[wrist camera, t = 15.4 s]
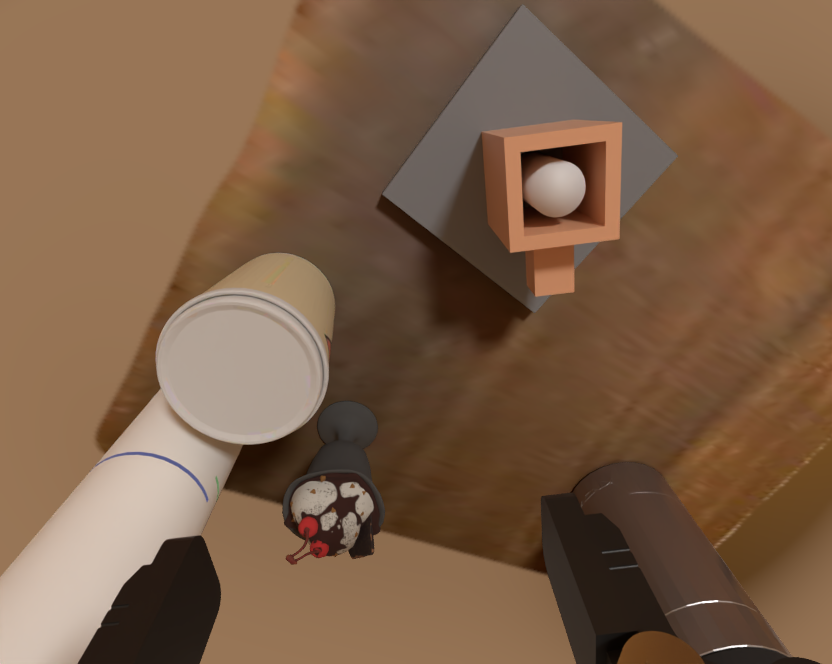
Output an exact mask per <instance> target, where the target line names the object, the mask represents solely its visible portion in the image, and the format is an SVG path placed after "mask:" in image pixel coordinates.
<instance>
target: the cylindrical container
mask: <svg viewBox="0 0 832 664" xmlns="http://www.w3.org/2000/svg"><path fill="white" fill-rule="evenodd" d="M242 446H243V444H234V443H228V442H224V441H220V440H217V439H214V438H212V437H209V436H207V435H205V434H203V433H201V432H199V431H198V430H196V429H194V428H193V427H192V426H190V425H189V424H188V423H186V422H185V421H184V420H183V419H182V418H181V417H180V416H179V415H178V414H177V413H176V412H175V411H174V410H173V408H172V407H171V406H170V405H169V403H168V401H167V400H166V398H165V396H164V394H163V392H162V390H161V389H160V390H159V392H158V393H157V394H156V395H155V396H154V397H153V399H152V400H151V401H150V402H149V403H148V405H147V406H146V407H145V408H144V409H143V410H142V412H141V413H140V414H139V415H138V416H137V417H136V419H135V420H134V421H133V422H132V423H131V424H130V426H129V427H128V428H127V429H126V430H125V431H124V433H123V434H122V435H121V436H120V437H119V438H118V440H117V441H116V442H115V443H114V444H113V445H112V447H111V448H110V449H109V450H108V451H107V452H106V454H105V455H104V456H103V457H102V458H101V460H100V461H99V462H98V463H97V464H96V465H95V467H94V468H93V469H92V470H91V471H90V473H89V474H88V475H87V476H86V477H85V478H84V479H83V481H82V482H81V483H80V484H79V485H78V486H77V488H76V489H75V490H74V491H73V492H72V494H71V495H70V496H69V497H68V498H67V499H66V501H65V502H64V503H63V504H62V505H61V506H60V508H59V509H58V510H57V511H56V512H55V514H54V515H53V516H52V517H51V518H50V519H49V521H48V522H47V523H46V524H45V525H44V526H43V528H42V529H41V530H40V531H39V532H38V534H37V535H36V536H35V537H34V538H33V539H32V540H31V542H30V543H29V544H28V545H27V546H26V548H25V549H24V550H23V551H22V552H21V554H20V555H19V556H18V557H17V558H16V559H15V561H14V562H13V563H12V564H11V565H10V566H9V568H8V569H7V570H6V571H5V572H4V573H3V575H2V576H1V577H0V664H78V662H79V660H80V658H81V657H82V655H83V653H84V652H85V650H86V648H87V646H88V645H89V643H90V641H91V640H92V638H93V636H94V634H95V633H96V631H97V629H98V628H100V627H101V622H102V621H103V619H104V617H105V615H106V614H107V612H108V610H111V605H112V603H113V602H114V600H115V598H116V596H117V595H118V593H119V591H120V590H121V588H122V586H123V585H124V584H125V583H126V582H127V581H128V580H129V579H130V578H131V577H132V576H133V575H134V574H135V573H136V572H137V571H138V570H139V569H140V568H141V567H142V566H143V565H149V564H152V562H153V560H154V558H155V556H156V554H157V553H158V551H159V549H160V547H161V545H162V544H163V542H164V541H165V540H167V539H172V538H180V537H189V536H197V535H200V536H201V534H202V532H203V530H204V528H205V525H206V523H207V521H208V519H209V517H210V515H211V512H212V510H213V508H214V506H215V504H216V502H217V500H218V498H219V495H220V493H221V491H222V489H223V487H224V485H225V483H226V480H227V478H228V476H229V474H230V472H231V470H232V468H233V465H234V463H235V461H236V459H237V457H238V455H239V453H240V450H241V448H242Z"/></svg>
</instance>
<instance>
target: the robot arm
mask: <svg viewBox="0 0 832 664" xmlns="http://www.w3.org/2000/svg"><path fill="white" fill-rule="evenodd" d="M541 517H542V542H543V554H544V560H545V565H546V569H547V573H548V576H549V579H550V582H551V585H552V589H553V592H554V595H555V598H556V601H557V604H558V608H559V611H560V613H561V617H562V620H563V623H564V626H565V629H566V633H567V636H568V639H569V642H570V645H571V648H572V651H573V654H574V657H575V660H576V664H820V663H818V662H815V661H812V660H809V659H805V658H799V657H792V655H791V654H790V652H789V651H788V650H787V648H786V647H785V645H784V644H783V643H782V641H781V640H780V639H779V637H778V636H777V634H776V633H775V632H774V630H773V629H772V627H771V626H770V625H769V623H768V622H767V620H766V619H765V618H764V617H763V615H762V614H761V613H760V611H759V610H758V608H757V607H756V606H755V605H754V603H753V601H752V600H751V599H750V597H749V596H748V594H747V593H746V592H745V590H744V589H743V588H742V586H741V585H740V583H739V582H738V581H737V579H736V578H735V576H734V575H733V574H732V572H731V571H730V570H729V568H728V567H727V565H726V564H725V563H724V561H723V560H722V558H721V557H720V555H719V554H718V553H717V551H716V550H715V549H714V547H713V546H712V544H711V543H710V542H709V540H708V539H707V537H706V536H705V535H704V533H703V532H702V530H701V529H700V528H699V526H698V525H697V523H696V522H695V521H694V519H693V518H692V517H691V515H690V514H689V512H688V511H687V509H686V508H685V506H684V505H683V504H682V502H681V501H680V499H679V498H678V497H677V495H676V494H675V493H674V491H673V490H672V488H671V487H670V486H669V484H668V483H667V482H666V480H665V479H664V478H663V476H662V475H661V474H660V473H659V472H657V471H656V470H655V469H653V468H651V467H649V466H646V465H644V464H639V463H632V462H622V463H616V464H611V465H608V466H605V467H602V468H600V469H598V470H596V471H594V472H592V473H590V474H589V475H588V476H586V477H585V478H584V479H583V480H582V481H581V482H580V483H579V484H578V485H577V486H576V487H575V489H574V491H573V492H572V493H564V494H556V495H547V496H542V497H541ZM220 600H221V589H220V583H219V580H218V577H217V574H216V571H215V568H214V565H213V563H212V560H211V557H210V554H209V552H208V549H207V546H206V543H205V541H204V539H203V537H202V536H200V535H197V536H189V537H180V538H172V539H167V540H165V541H164V542H163V544H162V545H161V547H160V549H159V551H158V553H157V554H156V556H155V558H154V560H153V562H152V564H149V565H143V566H142V567H141V568H140V569H139V570H138V571H137V572H136V573H135V574H134V575H133V576H132V577H131V578H130V579H129V580H128V581H127V582H126V583H125V584H124V585H123V586H122V588H121V590H120V591H119V593H118V595H117V596H116V598H115V600H114V602H113V603H112V605H111V610H108V612H107V614H106V615H105V617H104V619H103V621H102V622H101V627H100V628H98V629H97V631H96V633H95V634H94V636H93V638H92V640H91V641H90V643H89V645H88V646H87V648H86V650H85V652H84V653H83V655H82V657H81V658H80V660H79V662H78V664H199V663H200V661H201V658H202V655H203V652H204V650H205V647H206V644H207V642H208V639H209V636H210V633H211V630H212V628H213V625H214V622H215V619H216V617H217V614H218V611H219V606H220Z"/></svg>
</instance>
